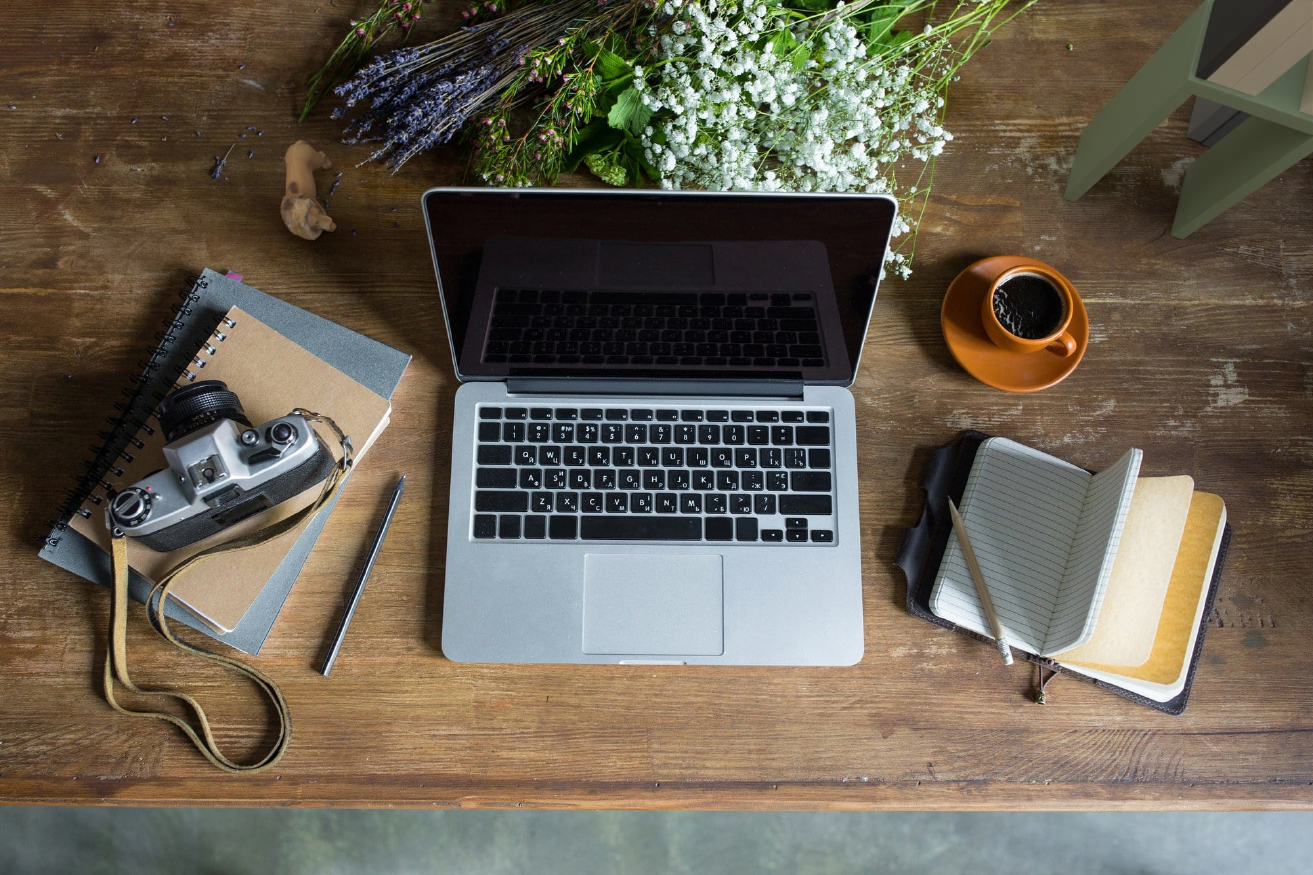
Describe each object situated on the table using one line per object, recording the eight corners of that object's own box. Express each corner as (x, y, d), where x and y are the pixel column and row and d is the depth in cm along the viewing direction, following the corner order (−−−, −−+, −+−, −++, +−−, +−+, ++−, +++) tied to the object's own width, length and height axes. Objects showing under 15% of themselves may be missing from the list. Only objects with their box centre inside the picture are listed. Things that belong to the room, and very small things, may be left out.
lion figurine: (354, 256, 91) (325, 218, 82) (308, 268, 91) (274, 231, 82) (329, 146, 94) (298, 98, 85) (284, 156, 94) (249, 109, 85)
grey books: (1230, 90, 100) (1310, 21, 88) (1216, 150, 98) (1296, 87, 86) (1199, 80, 100) (1275, 10, 88) (1185, 139, 98) (1260, 75, 87)
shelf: (1198, 170, 97) (1360, 45, 76) (1182, 240, 95) (1343, 132, 74) (1082, 130, 98) (1209, -5, 77) (1062, 198, 96) (1188, 79, 74)
